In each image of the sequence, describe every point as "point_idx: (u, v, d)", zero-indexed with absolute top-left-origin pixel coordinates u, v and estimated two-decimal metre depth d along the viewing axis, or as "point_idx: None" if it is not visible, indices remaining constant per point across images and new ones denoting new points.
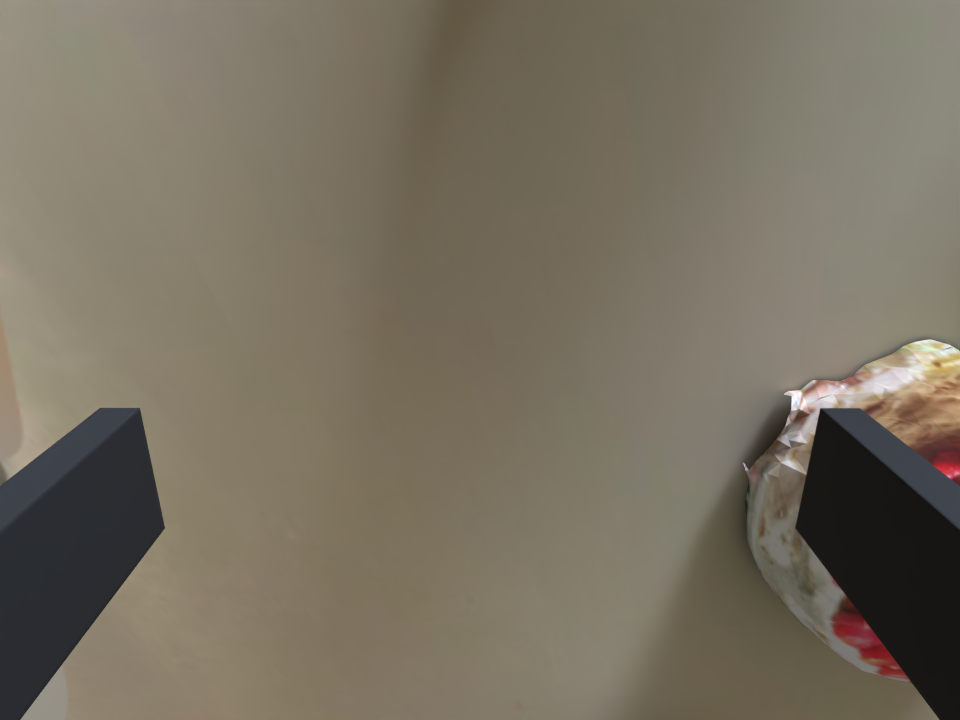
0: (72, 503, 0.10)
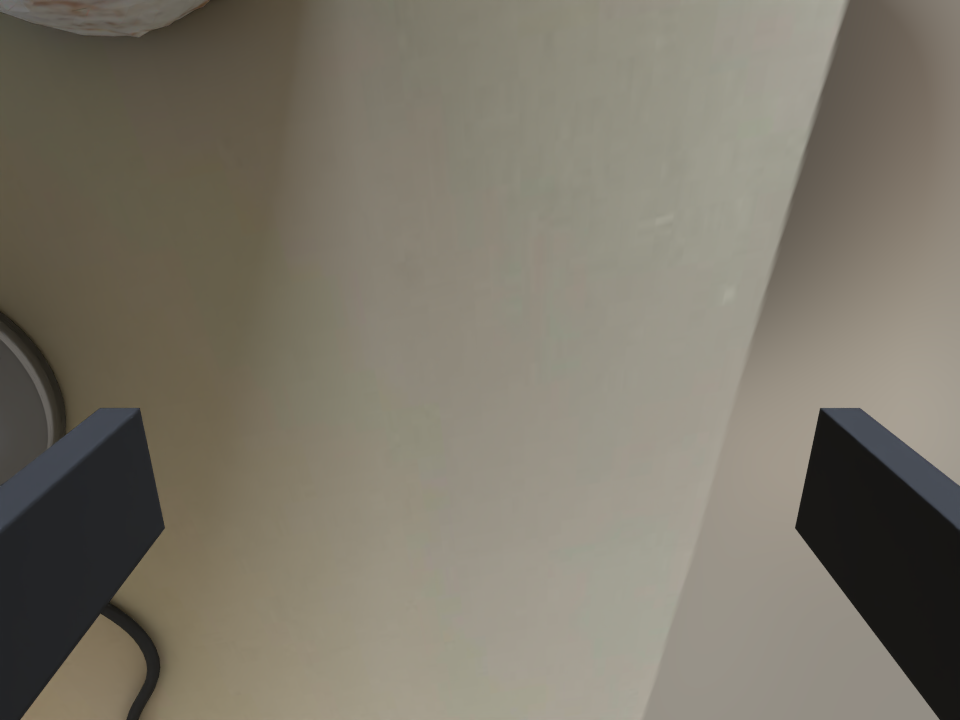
0: (71, 504, 0.10)
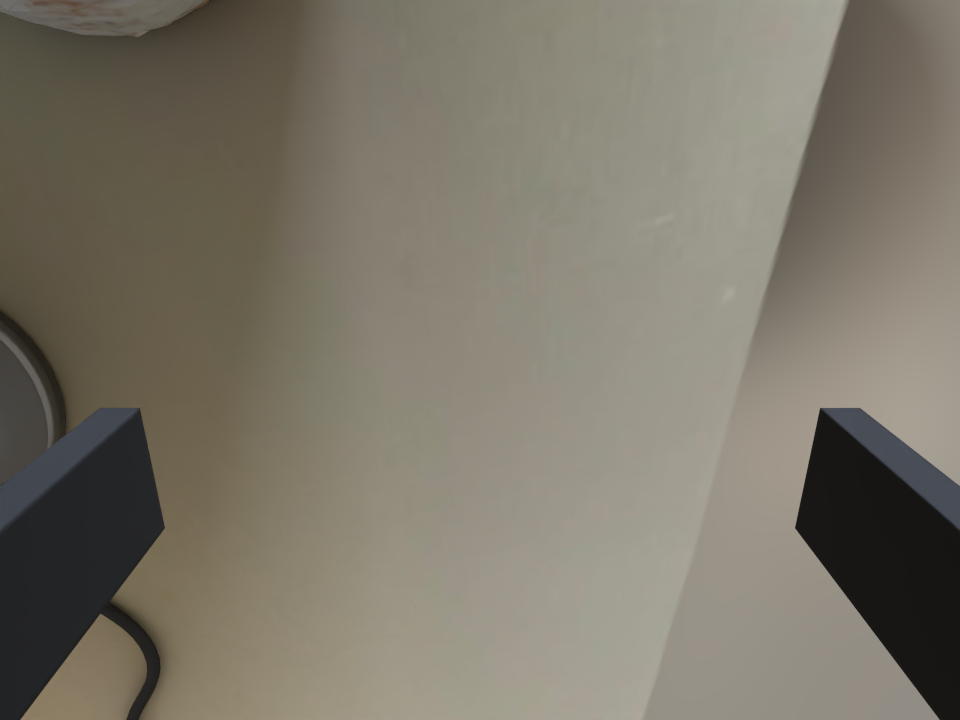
0: (71, 504, 0.10)
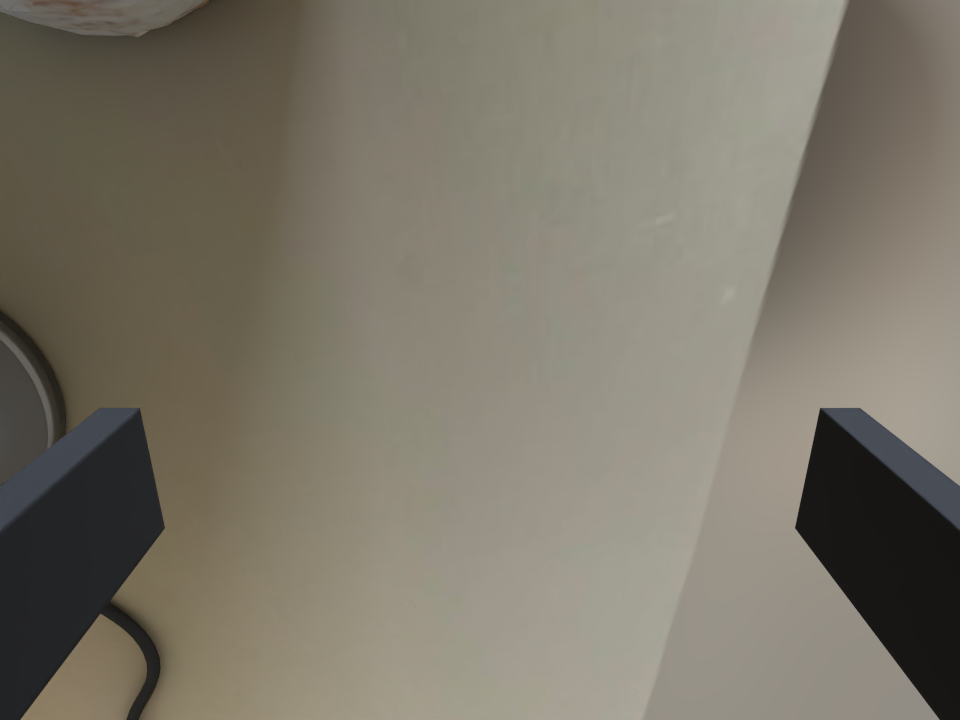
0: (71, 504, 0.10)
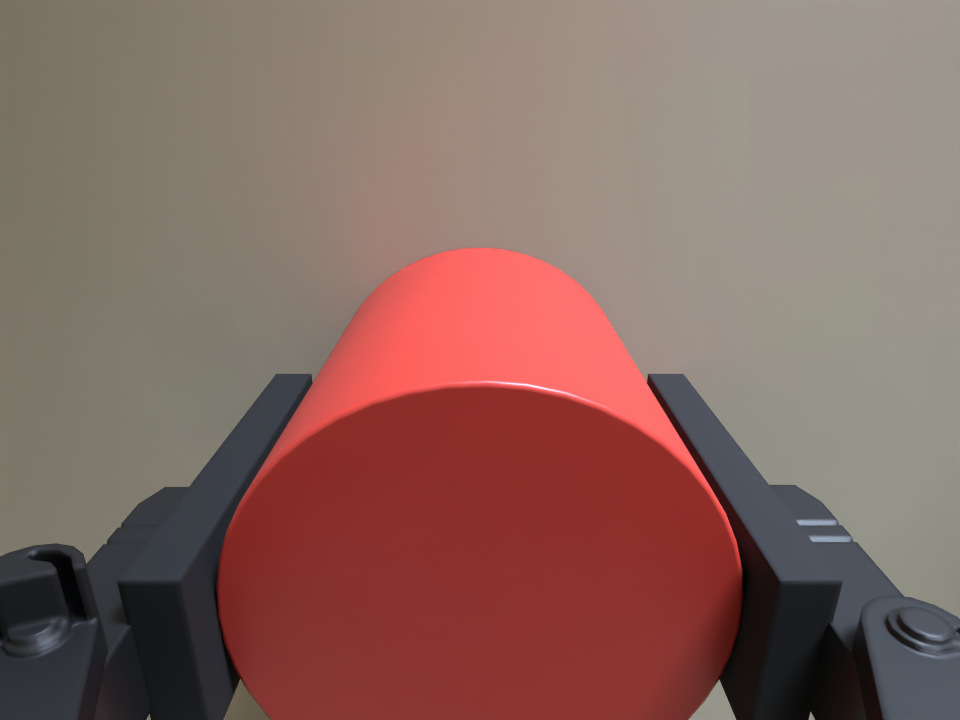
0: None
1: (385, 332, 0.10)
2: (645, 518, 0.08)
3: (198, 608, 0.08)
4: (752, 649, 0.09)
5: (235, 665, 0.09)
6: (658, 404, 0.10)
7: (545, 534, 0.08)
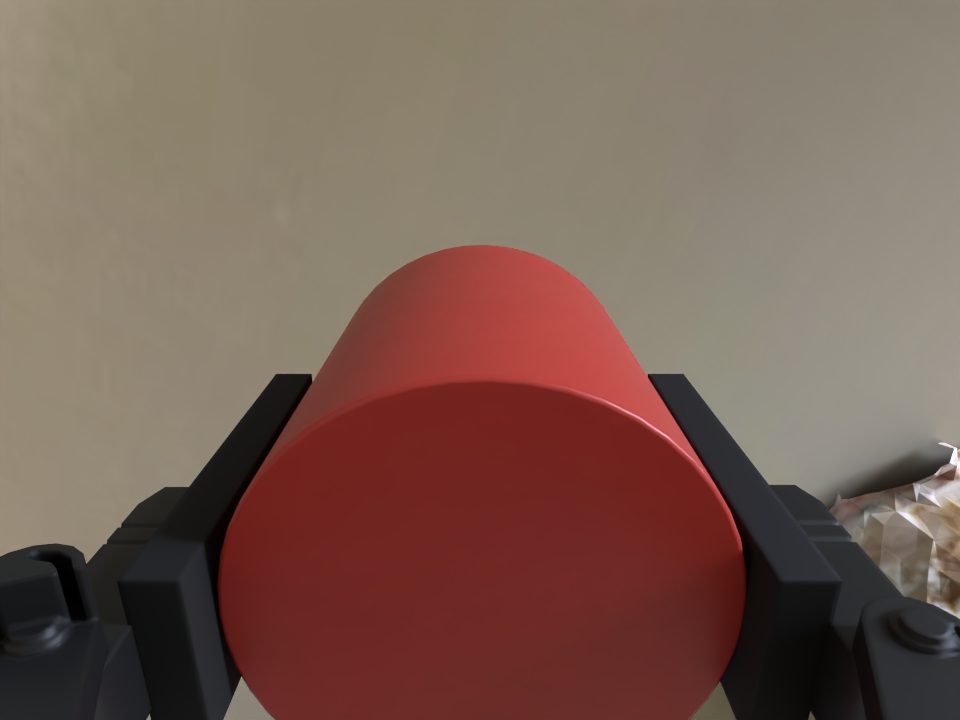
0: None
1: (387, 328, 0.10)
2: (649, 514, 0.08)
3: (198, 608, 0.08)
4: (752, 649, 0.09)
5: (236, 662, 0.09)
6: (661, 401, 0.10)
7: (547, 531, 0.08)
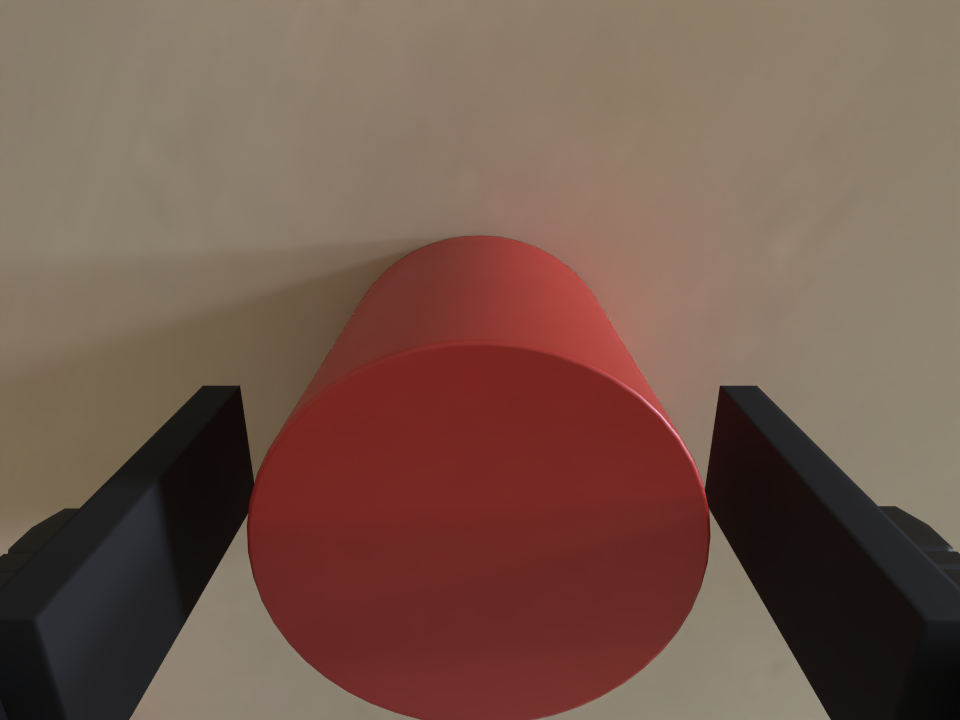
0: (196, 468, 0.11)
1: (394, 306, 0.11)
2: (623, 463, 0.09)
3: (66, 646, 0.08)
4: (879, 689, 0.08)
5: (262, 598, 0.10)
6: (638, 370, 0.11)
7: (534, 478, 0.10)
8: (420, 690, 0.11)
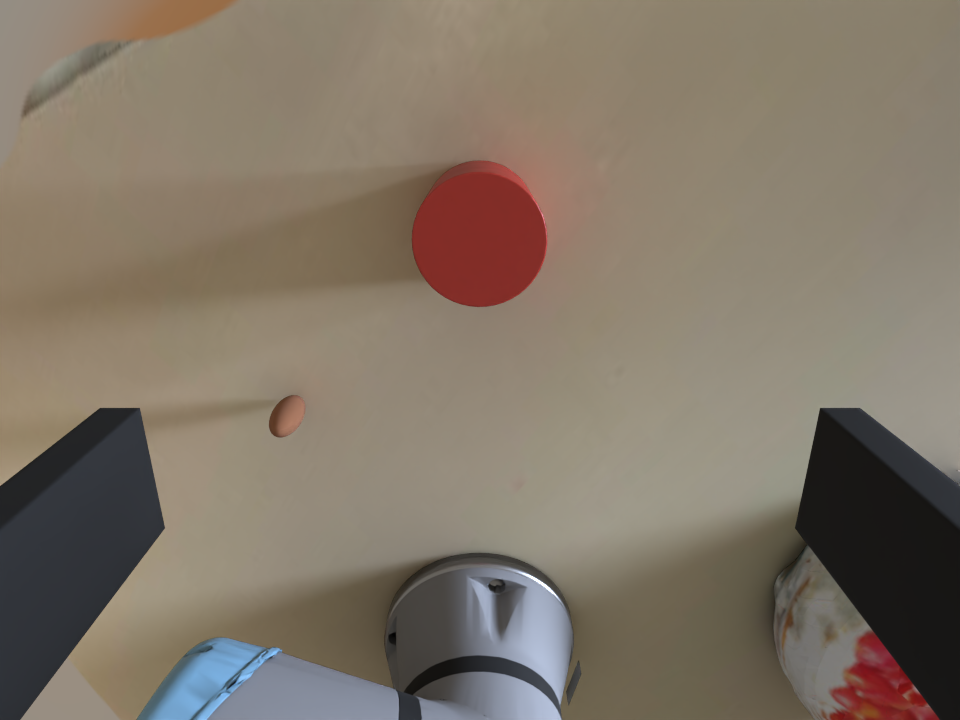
0: (71, 503, 0.10)
1: (452, 173, 0.36)
2: (520, 209, 0.34)
3: None
4: None
5: (414, 257, 0.35)
6: (530, 193, 0.36)
7: (495, 214, 0.34)
8: (461, 292, 0.35)
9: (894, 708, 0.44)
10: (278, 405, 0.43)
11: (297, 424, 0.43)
